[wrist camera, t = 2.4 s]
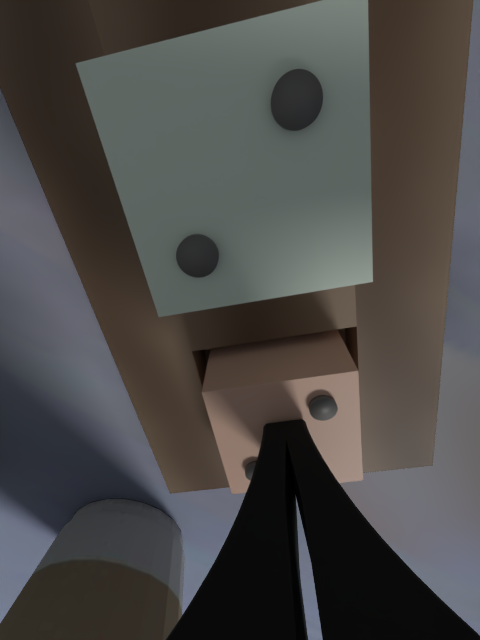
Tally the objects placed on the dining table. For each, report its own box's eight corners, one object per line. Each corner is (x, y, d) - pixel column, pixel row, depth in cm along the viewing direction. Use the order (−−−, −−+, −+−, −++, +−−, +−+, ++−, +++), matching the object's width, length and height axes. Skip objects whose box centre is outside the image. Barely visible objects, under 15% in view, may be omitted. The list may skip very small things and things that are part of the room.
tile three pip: (335, 326, 13) (360, 374, 10) (343, 422, 15) (364, 484, 12) (211, 345, 14) (200, 396, 11) (234, 435, 16) (231, 498, 13)
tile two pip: (328, 44, 8) (372, -18, 5) (339, 248, 10) (375, 285, 7) (130, 92, 9) (69, 59, 6) (181, 276, 11) (156, 320, 8)
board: (470, -785, 5) (584, -1267, 3) (412, 431, 16) (432, 465, 15) (-176, -476, 7) (-336, -714, 5) (178, 459, 18) (170, 493, 16)
